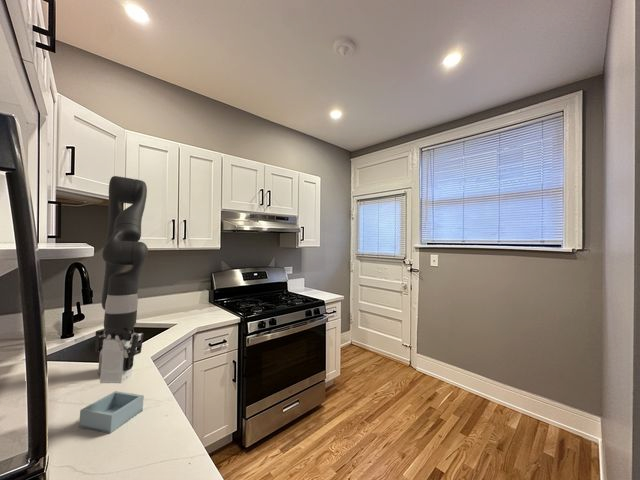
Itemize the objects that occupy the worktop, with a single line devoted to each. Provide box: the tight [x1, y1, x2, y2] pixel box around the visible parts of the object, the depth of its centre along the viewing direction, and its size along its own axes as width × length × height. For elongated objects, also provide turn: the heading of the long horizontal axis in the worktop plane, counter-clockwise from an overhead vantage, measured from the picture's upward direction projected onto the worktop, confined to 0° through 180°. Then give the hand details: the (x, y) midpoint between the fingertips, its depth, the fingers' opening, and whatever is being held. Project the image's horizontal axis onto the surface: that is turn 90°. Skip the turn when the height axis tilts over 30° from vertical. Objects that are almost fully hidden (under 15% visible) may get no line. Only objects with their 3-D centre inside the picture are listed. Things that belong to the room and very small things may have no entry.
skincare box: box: [99, 338, 133, 384], centre depth 75 cm, size 6×4×12 cm
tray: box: [78, 390, 144, 434], centre depth 74 cm, size 10×10×4 cm
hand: (116, 368), depth 75 cm, fingers closed on skincare box, 6 cm apart
